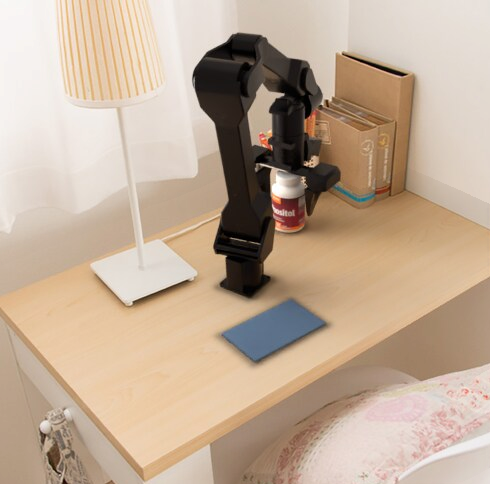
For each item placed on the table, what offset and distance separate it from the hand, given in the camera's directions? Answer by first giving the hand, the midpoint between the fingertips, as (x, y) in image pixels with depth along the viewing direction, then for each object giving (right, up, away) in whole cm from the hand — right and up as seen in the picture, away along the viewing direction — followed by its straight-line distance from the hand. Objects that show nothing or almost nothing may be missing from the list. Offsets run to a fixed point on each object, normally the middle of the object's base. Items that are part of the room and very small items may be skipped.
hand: (288, 209), depth 139 cm
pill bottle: (0, -3, +2) cm, 4 cm away
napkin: (-3, -21, -24) cm, 32 cm away
